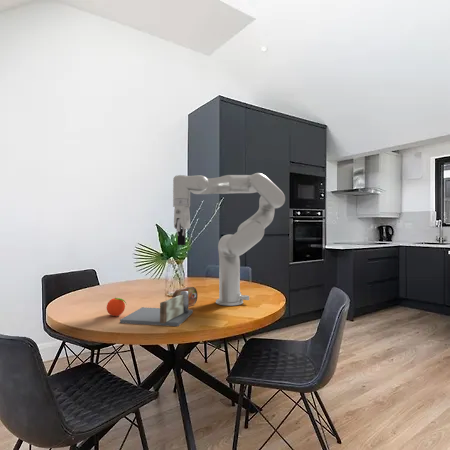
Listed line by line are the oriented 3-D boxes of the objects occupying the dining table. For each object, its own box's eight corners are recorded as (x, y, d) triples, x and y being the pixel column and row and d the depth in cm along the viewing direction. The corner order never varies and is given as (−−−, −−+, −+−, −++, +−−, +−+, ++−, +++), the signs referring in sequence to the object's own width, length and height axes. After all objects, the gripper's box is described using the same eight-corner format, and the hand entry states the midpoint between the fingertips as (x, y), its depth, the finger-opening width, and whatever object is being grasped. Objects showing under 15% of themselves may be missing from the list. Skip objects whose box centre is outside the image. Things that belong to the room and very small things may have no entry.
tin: (176, 311, 138) (176, 291, 138) (170, 310, 140) (170, 290, 140) (198, 304, 151) (198, 285, 151) (192, 303, 153) (192, 285, 153)
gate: (180, 312, 129) (180, 294, 130) (184, 312, 129) (184, 294, 129) (160, 322, 115) (160, 302, 115) (164, 323, 115) (164, 303, 115)
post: (189, 314, 132) (189, 290, 132) (187, 316, 129) (187, 292, 129) (181, 314, 133) (182, 290, 133) (179, 316, 130) (179, 292, 130)
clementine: (130, 314, 133) (130, 296, 133) (122, 318, 127) (122, 300, 127) (112, 313, 135) (112, 295, 135) (103, 317, 128) (103, 299, 128)
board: (192, 312, 136) (192, 309, 136) (178, 326, 117) (178, 322, 117) (142, 310, 139) (142, 307, 139) (120, 323, 121) (120, 319, 121)
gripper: (185, 202, 139) (184, 246, 139) (194, 204, 154) (194, 244, 154) (167, 202, 140) (167, 245, 140) (178, 204, 155) (178, 244, 155)
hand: (181, 244), depth 147 cm, fingers closed
